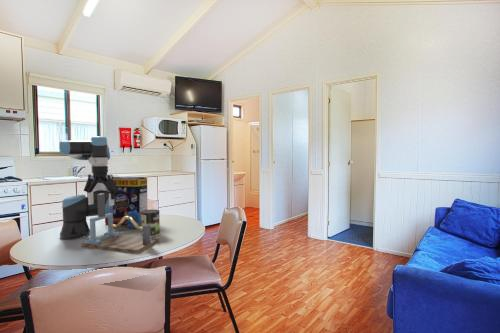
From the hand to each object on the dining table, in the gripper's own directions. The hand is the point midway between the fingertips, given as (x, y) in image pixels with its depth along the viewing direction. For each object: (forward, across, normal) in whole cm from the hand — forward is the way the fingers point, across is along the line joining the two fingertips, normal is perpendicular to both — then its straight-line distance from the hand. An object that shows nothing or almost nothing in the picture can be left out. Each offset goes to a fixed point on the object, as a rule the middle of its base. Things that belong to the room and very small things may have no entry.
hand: (101, 205), depth 152 cm
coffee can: (+21, +17, +19) cm, 33 cm away
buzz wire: (+19, +17, 0) cm, 26 cm away
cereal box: (+21, -16, +39) cm, 47 cm away
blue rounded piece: (+21, -1, +28) cm, 35 cm away
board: (+21, +12, 0) cm, 24 cm away
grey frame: (+19, 0, 0) cm, 19 cm away
